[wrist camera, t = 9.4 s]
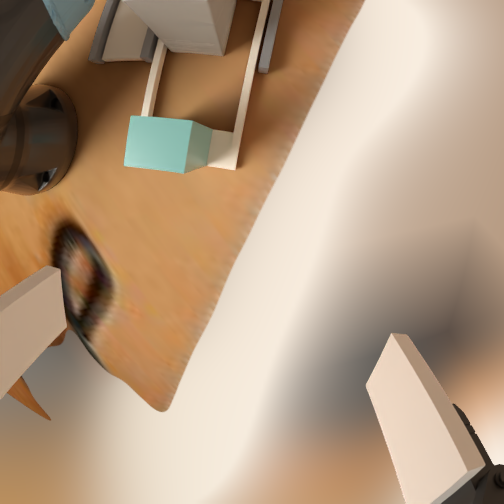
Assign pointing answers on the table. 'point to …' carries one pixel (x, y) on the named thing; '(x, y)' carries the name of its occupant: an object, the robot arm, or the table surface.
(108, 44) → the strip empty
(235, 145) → the white and teal frame
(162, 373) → the table surface
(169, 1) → the skincare box
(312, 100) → the table surface
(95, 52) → the lane bed
